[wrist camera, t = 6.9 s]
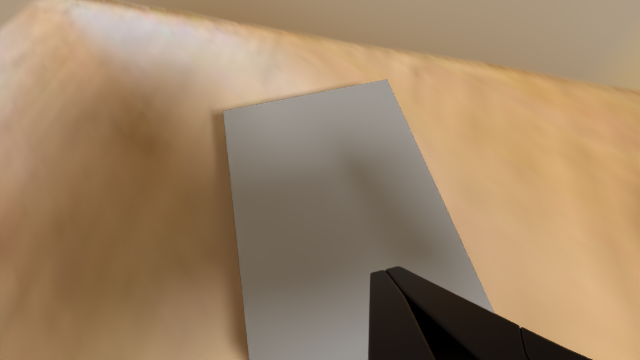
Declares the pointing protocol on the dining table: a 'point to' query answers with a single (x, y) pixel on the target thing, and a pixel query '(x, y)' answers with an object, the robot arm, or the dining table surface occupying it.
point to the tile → (332, 219)
